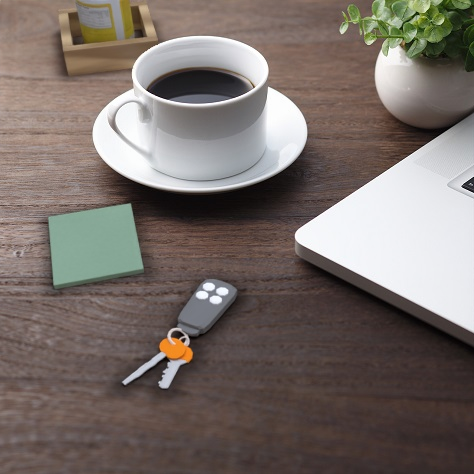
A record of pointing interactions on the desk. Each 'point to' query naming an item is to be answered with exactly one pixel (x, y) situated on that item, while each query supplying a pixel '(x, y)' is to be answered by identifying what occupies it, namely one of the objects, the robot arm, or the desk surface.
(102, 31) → the pill bottle
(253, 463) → the desk surface
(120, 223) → the green mat
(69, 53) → the brown shallow square frame
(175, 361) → the key chain
